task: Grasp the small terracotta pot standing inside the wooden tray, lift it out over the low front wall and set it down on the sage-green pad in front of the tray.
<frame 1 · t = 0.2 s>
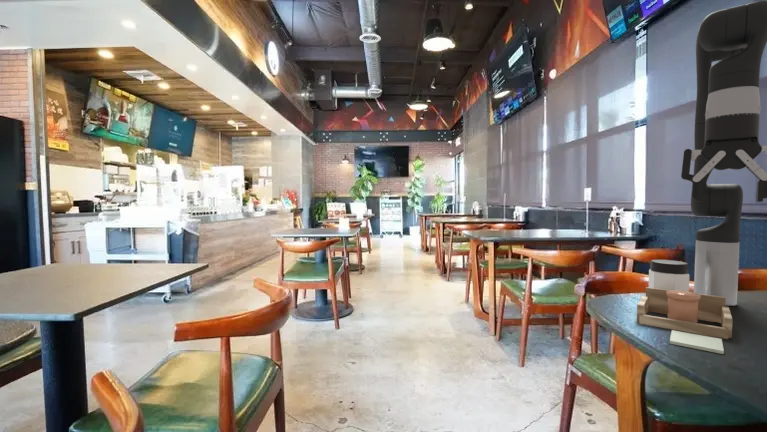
hand: (727, 201, 72), 28 cm above the table, fingers open, 8 cm apart
pot: (681, 323, 88), resting in wooden tray
pad: (695, 342, 75), on the table
jar: (667, 306, 102), on the table
wooden tray: (682, 322, 88), on the table
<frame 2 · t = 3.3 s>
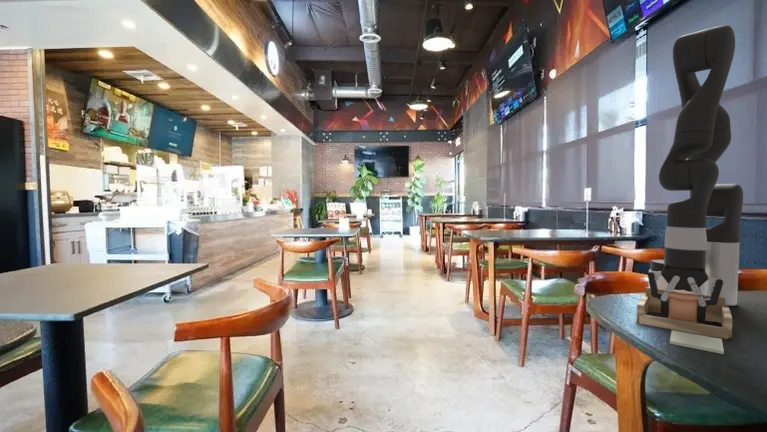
hand: (682, 318, 88), 1 cm above the table, fingers closed on pot, 5 cm apart
pot: (682, 323, 88), resting in wooden tray, touching gripper
everything else where it was.
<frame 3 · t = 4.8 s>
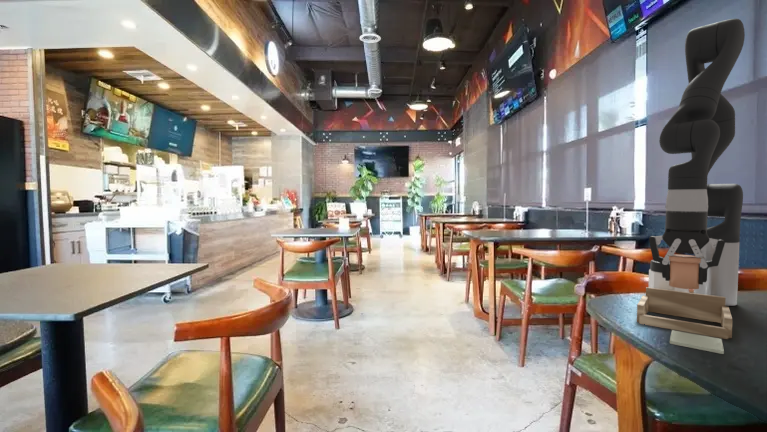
hand: (683, 281, 88), 10 cm above the table, fingers closed on pot, 5 cm apart
pot: (683, 286, 88), point 9 cm above the table, touching gripper
everything else where it was.
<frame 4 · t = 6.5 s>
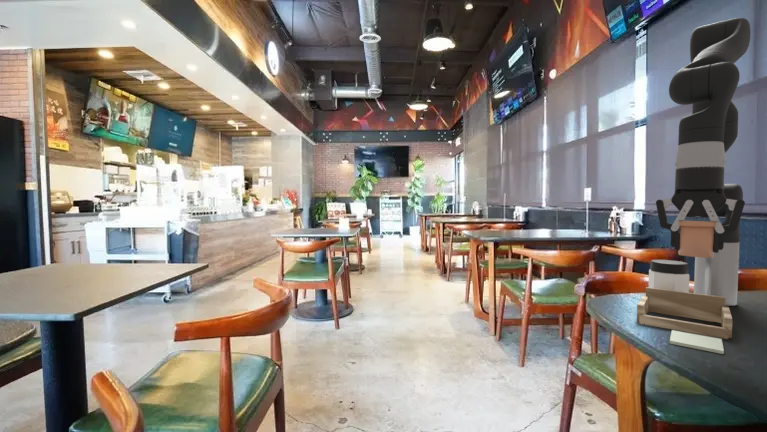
hand: (695, 250, 76), 18 cm above the table, fingers closed on pot, 5 cm apart
pot: (695, 255, 76), point 17 cm above the table, touching gripper
everything else where it was.
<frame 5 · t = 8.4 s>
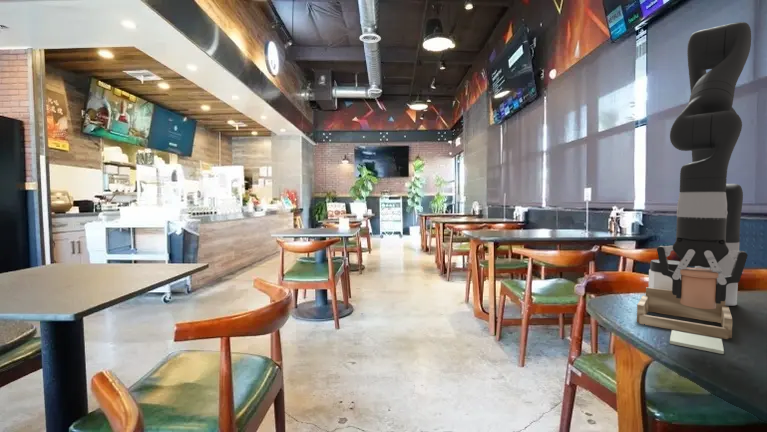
hand: (697, 299, 75), 9 cm above the table, fingers closed on pot, 5 cm apart
pot: (697, 305, 75), point 8 cm above the table, touching gripper
everything else where it was.
when the fingers open (2 cm above the table, at t = 10.1 s): pot stays where it is, resting on pad.
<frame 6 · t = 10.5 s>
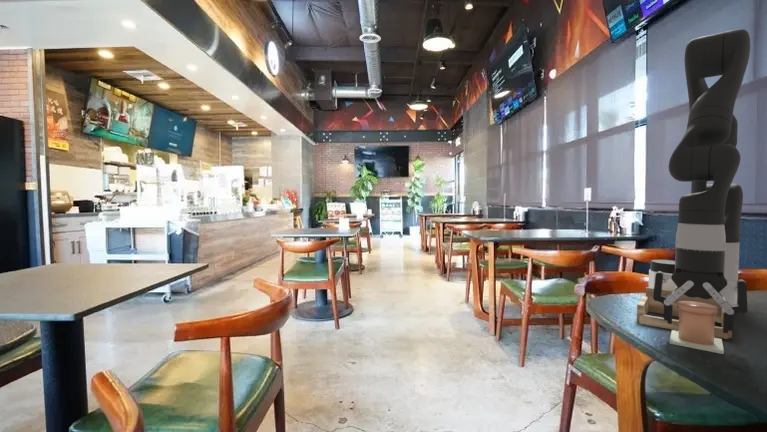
hand: (696, 327, 75), 3 cm above the table, fingers open, 8 cm apart
pot: (695, 339, 76), point 1 cm above the table, touching pad
everything else where it was.
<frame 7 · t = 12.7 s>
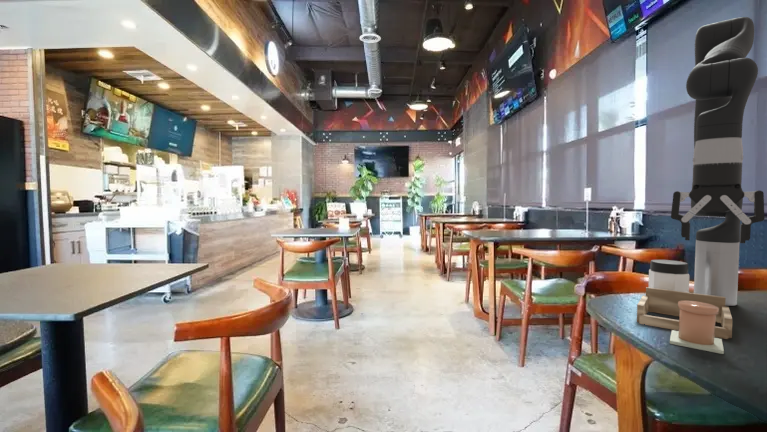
hand: (713, 241, 78), 20 cm above the table, fingers open, 8 cm apart
nothing on the table moved.
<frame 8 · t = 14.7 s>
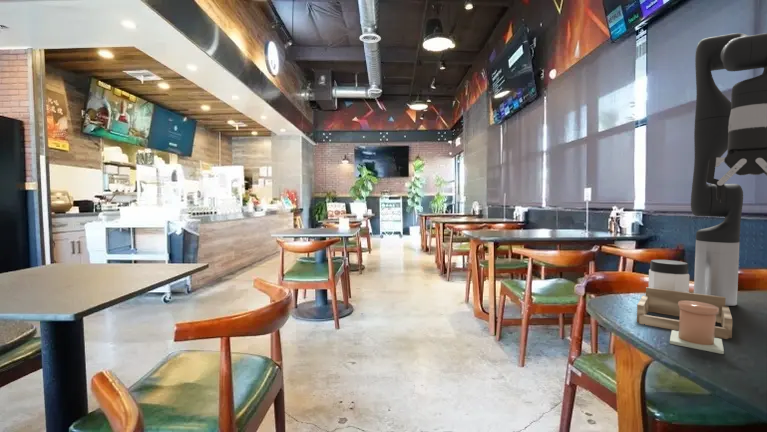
hand: (748, 202, 83), 28 cm above the table, fingers open, 8 cm apart
nothing on the table moved.
at the end: pot 0.1 cm off-centre on the pad, point 0.7 cm above the pad's base; pot tilted 1°; the gripper is holding nothing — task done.
